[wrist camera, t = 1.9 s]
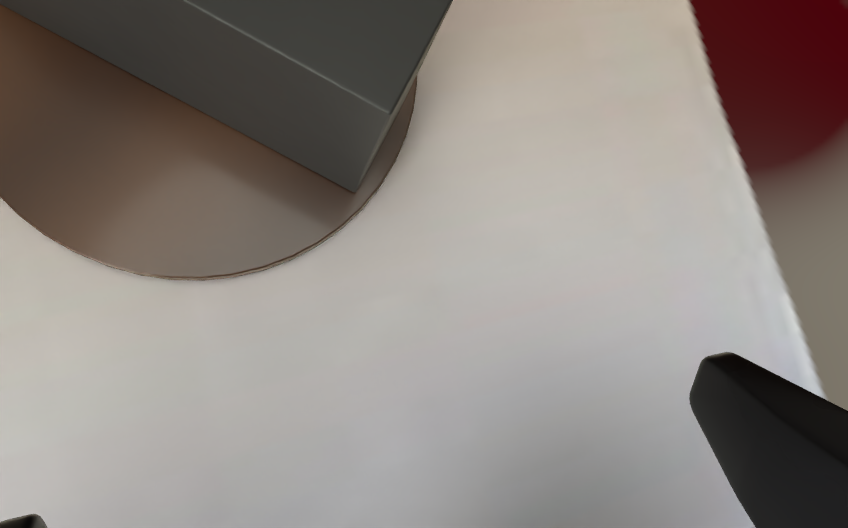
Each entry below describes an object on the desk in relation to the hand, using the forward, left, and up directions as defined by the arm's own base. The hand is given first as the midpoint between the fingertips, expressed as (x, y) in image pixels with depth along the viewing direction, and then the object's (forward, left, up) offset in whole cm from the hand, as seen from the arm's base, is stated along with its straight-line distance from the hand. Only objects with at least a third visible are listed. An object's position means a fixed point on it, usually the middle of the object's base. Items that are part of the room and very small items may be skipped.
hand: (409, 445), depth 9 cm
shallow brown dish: (+10, -4, -11) cm, 16 cm away
